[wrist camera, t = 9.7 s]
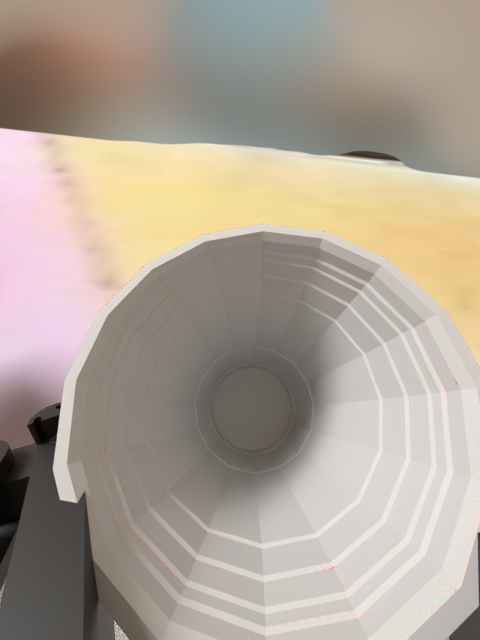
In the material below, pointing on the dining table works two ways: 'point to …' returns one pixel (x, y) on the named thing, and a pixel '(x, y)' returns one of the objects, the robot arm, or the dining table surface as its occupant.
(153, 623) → the plastic cup
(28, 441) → the dining table surface
